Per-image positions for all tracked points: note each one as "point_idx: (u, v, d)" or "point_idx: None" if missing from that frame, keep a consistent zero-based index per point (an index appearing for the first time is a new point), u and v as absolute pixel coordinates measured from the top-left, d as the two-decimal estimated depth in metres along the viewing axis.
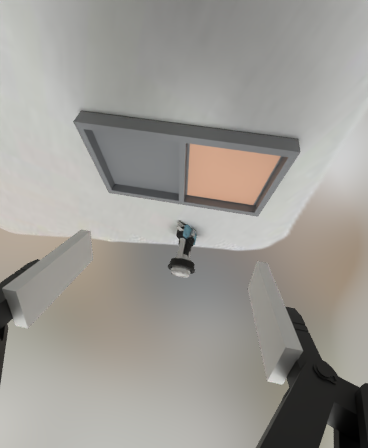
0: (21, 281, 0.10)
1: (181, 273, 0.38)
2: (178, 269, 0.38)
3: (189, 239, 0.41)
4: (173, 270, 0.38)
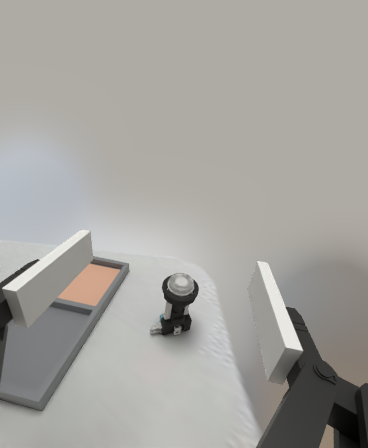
0: (21, 281, 0.10)
1: (175, 278, 0.29)
2: (169, 283, 0.29)
3: None
4: (172, 287, 0.28)
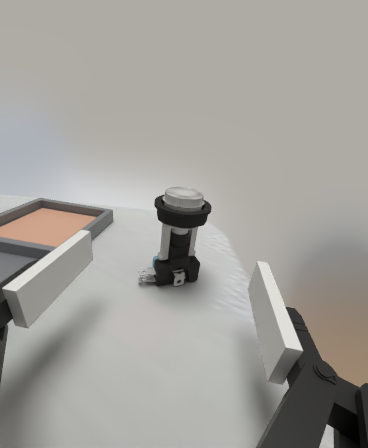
0: (21, 281, 0.10)
1: (175, 190, 0.19)
2: (165, 195, 0.18)
3: None
4: (169, 197, 0.17)
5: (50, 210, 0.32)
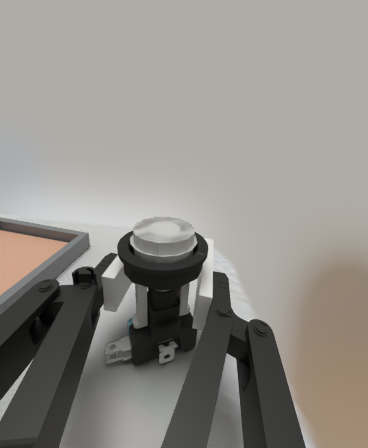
0: (114, 270, 0.12)
1: (150, 224, 0.12)
2: None
3: None
4: (138, 240, 0.11)
5: (9, 233, 0.25)
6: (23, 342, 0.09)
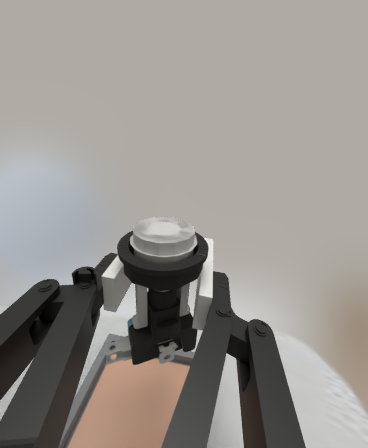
0: (114, 270, 0.12)
1: (150, 224, 0.12)
2: (133, 234, 0.11)
3: None
4: (138, 240, 0.11)
5: None
6: (23, 342, 0.09)
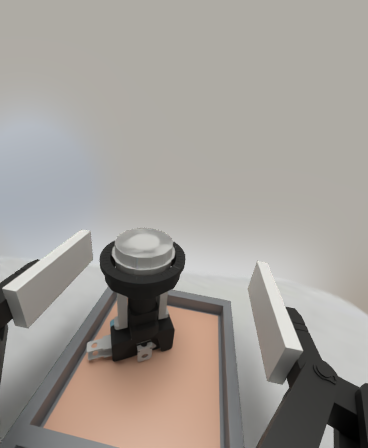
0: (21, 281, 0.10)
1: (132, 236, 0.13)
2: None
3: None
4: (118, 252, 0.11)
5: None
6: None
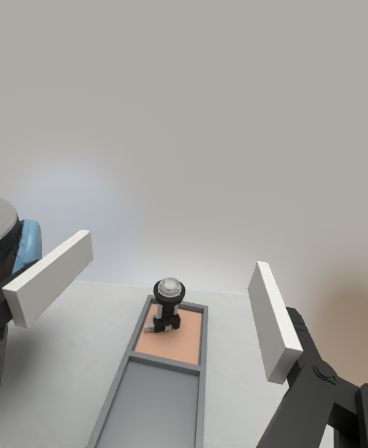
0: (21, 281, 0.10)
1: (165, 282, 0.33)
2: (159, 286, 0.33)
3: None
4: (161, 290, 0.32)
5: None
6: None
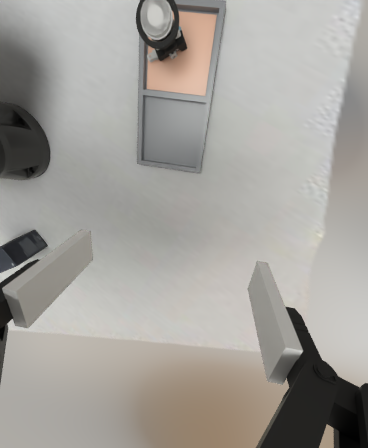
0: (21, 281, 0.10)
1: (147, 11, 0.23)
2: None
3: None
4: (146, 30, 0.24)
5: None
6: None
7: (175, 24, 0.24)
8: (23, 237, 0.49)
